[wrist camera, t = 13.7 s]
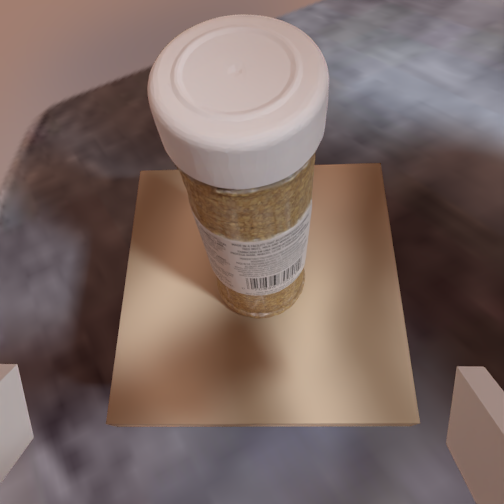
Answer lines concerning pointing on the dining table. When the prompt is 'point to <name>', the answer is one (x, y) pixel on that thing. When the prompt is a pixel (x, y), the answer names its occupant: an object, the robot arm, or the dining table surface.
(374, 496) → the dining table surface
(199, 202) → the spice jar
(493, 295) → the dining table surface
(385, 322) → the stool
